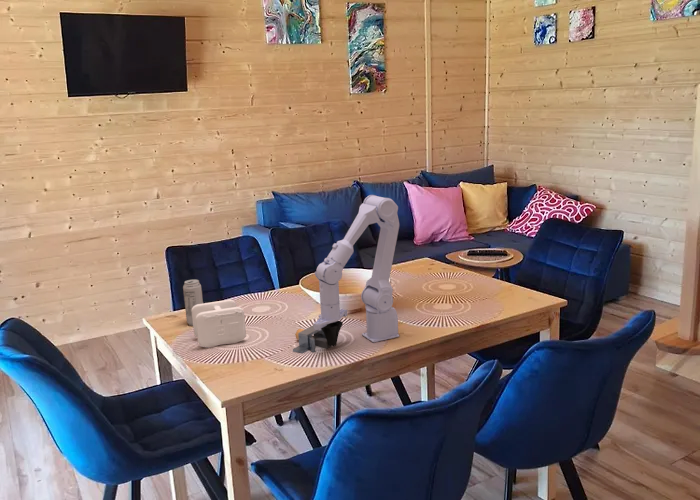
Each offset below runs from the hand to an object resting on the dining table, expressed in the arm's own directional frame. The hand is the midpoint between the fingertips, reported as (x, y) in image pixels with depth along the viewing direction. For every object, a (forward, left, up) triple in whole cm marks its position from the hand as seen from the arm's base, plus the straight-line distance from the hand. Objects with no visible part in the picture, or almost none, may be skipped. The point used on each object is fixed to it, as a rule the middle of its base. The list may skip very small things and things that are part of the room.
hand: (332, 345), depth 196 cm
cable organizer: (+28, -25, -1) cm, 37 cm away
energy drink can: (+31, -46, -1) cm, 55 cm away
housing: (+3, -5, -1) cm, 6 cm away
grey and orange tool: (+3, -7, -1) cm, 8 cm away
